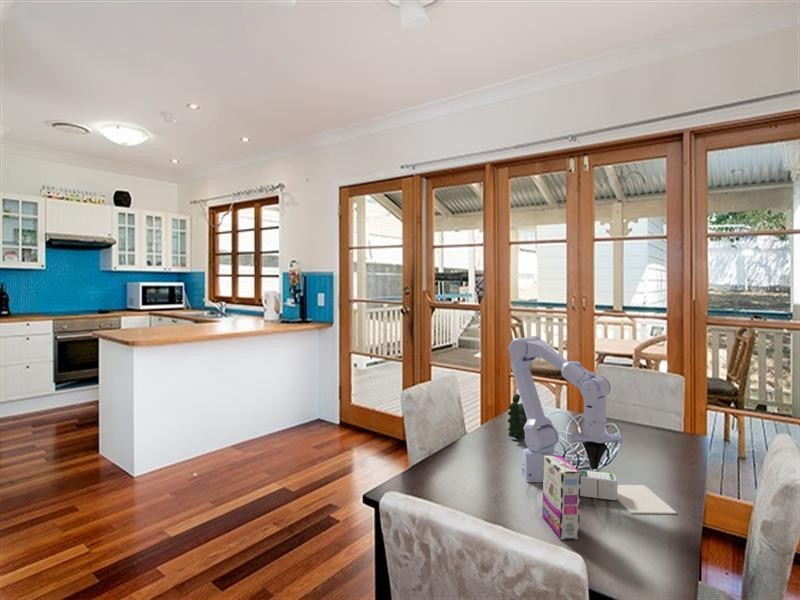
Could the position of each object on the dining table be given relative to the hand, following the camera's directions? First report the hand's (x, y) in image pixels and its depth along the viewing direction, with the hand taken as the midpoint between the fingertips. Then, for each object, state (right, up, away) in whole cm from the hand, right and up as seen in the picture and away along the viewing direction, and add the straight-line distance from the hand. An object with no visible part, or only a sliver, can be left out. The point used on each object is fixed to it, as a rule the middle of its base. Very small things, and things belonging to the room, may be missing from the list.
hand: (593, 467), depth 127 cm
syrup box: (+7, -6, +1) cm, 9 cm away
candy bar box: (-15, -10, -14) cm, 23 cm away
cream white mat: (+13, -9, 0) cm, 15 cm away
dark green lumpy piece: (-6, -7, +55) cm, 56 cm away
